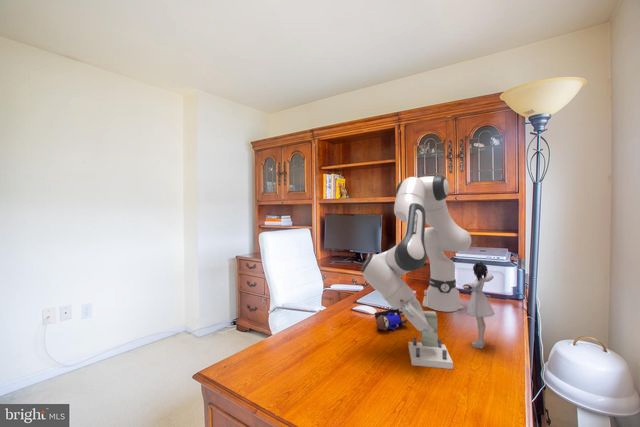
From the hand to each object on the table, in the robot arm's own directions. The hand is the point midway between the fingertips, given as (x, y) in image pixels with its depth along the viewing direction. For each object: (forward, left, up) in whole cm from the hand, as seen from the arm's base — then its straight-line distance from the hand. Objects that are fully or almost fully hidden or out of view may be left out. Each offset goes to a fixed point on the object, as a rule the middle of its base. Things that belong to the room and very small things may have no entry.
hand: (430, 327), depth 98 cm
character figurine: (-21, -12, -10) cm, 26 cm away
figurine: (-11, +18, -10) cm, 24 cm away
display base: (0, -1, -10) cm, 10 cm away
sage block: (0, -1, -5) cm, 5 cm away
